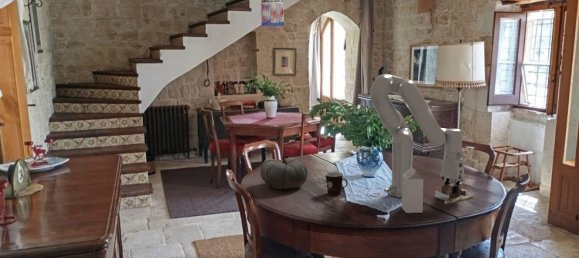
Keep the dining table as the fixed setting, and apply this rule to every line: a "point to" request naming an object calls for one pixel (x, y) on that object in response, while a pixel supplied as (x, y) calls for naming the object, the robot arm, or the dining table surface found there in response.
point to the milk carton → (412, 192)
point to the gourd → (283, 173)
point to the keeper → (446, 196)
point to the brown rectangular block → (450, 190)
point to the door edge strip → (458, 199)
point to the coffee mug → (334, 183)
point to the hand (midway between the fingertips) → (451, 191)
